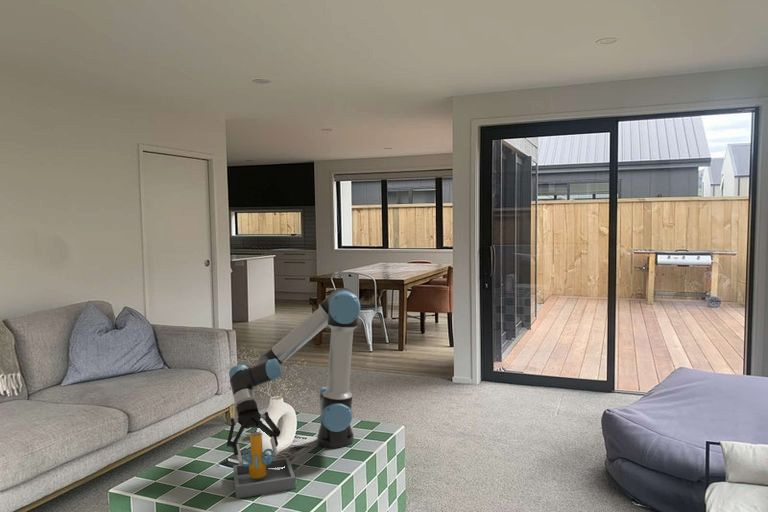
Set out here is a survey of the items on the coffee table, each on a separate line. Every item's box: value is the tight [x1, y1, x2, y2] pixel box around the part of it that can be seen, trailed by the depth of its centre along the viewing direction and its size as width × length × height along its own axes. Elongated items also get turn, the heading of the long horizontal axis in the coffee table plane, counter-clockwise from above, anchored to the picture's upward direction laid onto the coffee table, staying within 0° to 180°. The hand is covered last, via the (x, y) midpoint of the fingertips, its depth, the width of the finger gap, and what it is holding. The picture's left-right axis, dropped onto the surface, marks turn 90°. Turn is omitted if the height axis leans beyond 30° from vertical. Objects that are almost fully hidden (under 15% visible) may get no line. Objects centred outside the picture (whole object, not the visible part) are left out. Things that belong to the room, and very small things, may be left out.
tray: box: [232, 457, 297, 499], centre depth 208 cm, size 20×18×4 cm
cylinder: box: [241, 431, 274, 479], centre depth 207 cm, size 12×10×15 cm
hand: (258, 459), depth 205 cm, fingers closed on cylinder, 12 cm apart
